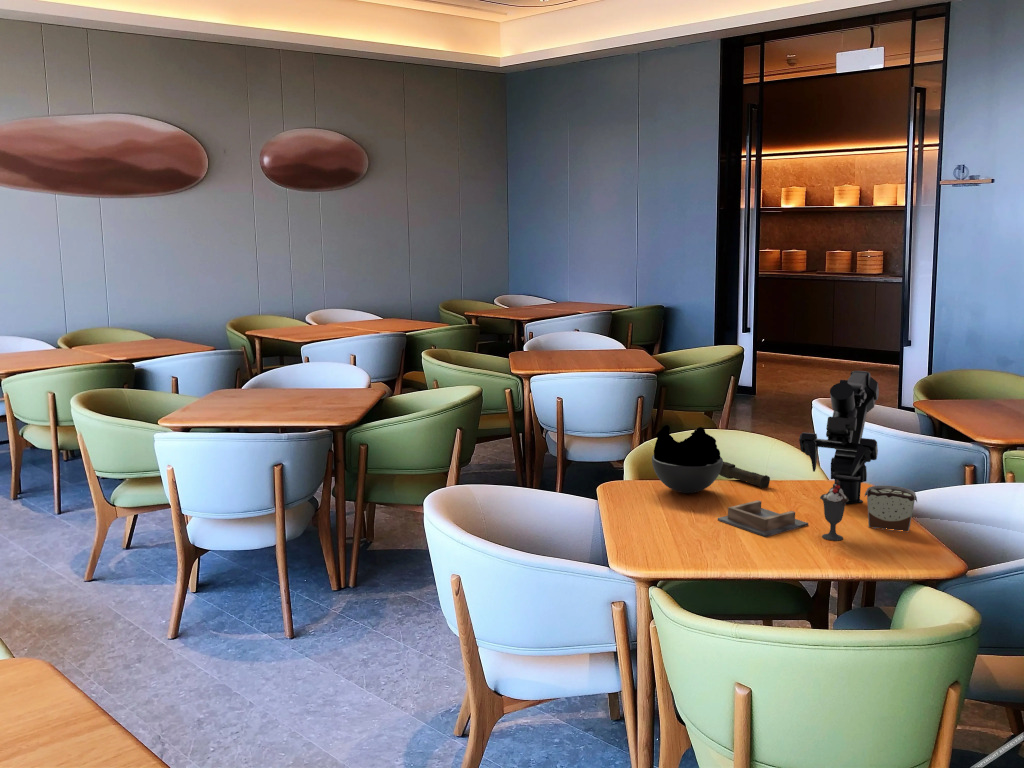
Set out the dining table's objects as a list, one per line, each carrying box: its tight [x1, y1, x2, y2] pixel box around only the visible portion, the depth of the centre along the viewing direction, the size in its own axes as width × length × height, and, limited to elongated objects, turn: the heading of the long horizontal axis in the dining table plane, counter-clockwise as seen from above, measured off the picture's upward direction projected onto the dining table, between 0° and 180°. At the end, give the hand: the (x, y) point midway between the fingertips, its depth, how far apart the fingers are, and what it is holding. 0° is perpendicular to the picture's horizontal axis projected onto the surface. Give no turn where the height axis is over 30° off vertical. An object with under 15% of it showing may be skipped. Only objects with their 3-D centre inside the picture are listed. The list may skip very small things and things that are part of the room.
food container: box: [864, 484, 918, 532], centre depth 237 cm, size 12×6×10 cm, turn 65°
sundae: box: [819, 481, 849, 542], centre depth 228 cm, size 7×7×15 cm
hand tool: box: [718, 461, 771, 490], centre depth 280 cm, size 19×4×5 cm, turn 32°
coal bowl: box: [651, 424, 724, 494], centre depth 267 cm, size 20×20×19 cm
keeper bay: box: [717, 499, 809, 538], centre depth 241 cm, size 16×16×4 cm
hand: (832, 472), depth 235 cm, fingers open, 9 cm apart
